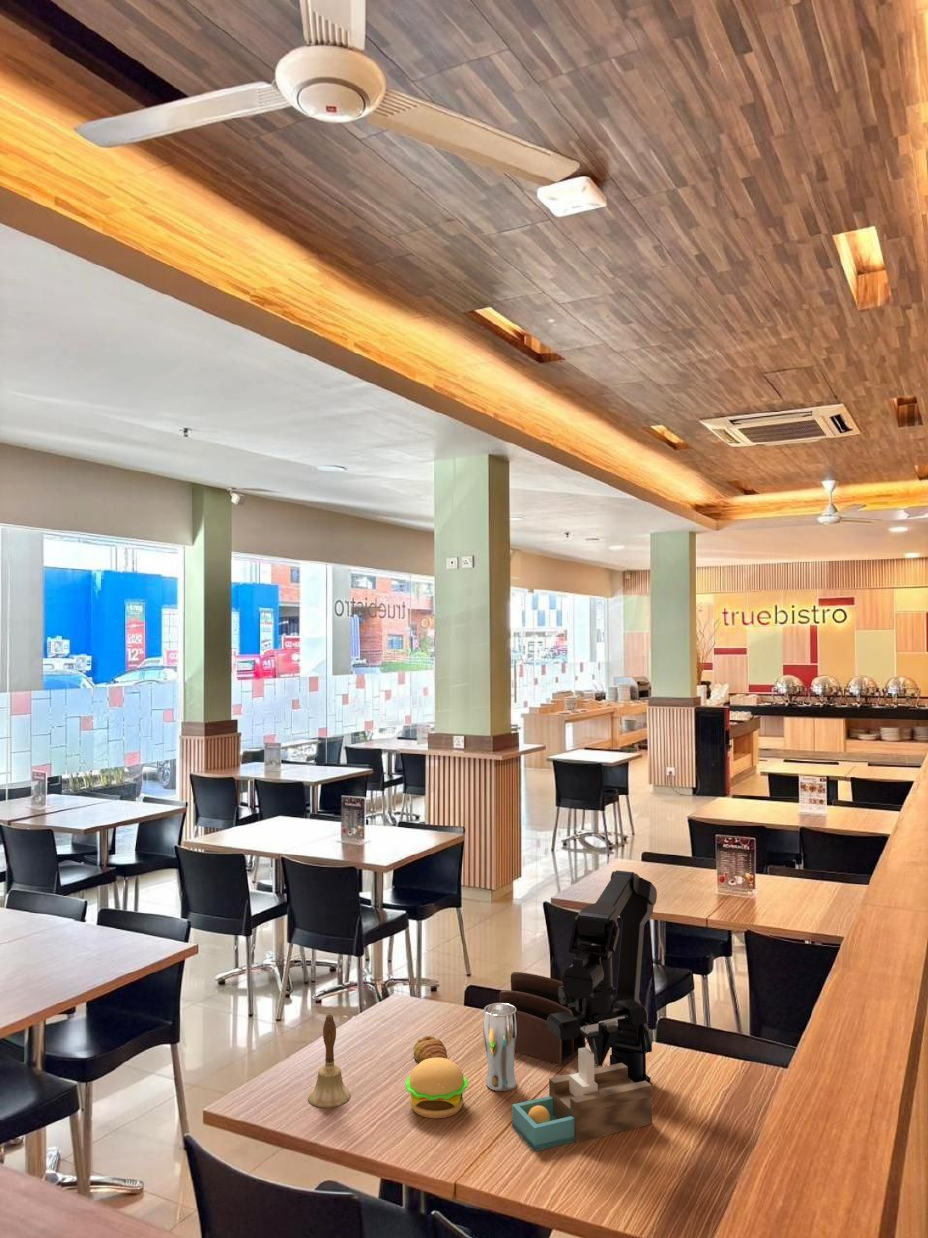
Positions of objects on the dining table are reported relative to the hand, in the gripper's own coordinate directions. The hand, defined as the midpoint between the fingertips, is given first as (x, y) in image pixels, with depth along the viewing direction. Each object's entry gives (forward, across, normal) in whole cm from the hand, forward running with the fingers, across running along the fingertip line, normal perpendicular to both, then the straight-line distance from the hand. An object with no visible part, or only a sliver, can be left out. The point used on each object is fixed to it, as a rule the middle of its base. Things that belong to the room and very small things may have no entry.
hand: (598, 1065), depth 169 cm
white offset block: (+5, +3, 0) cm, 6 cm away
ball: (+7, +13, 0) cm, 14 cm away
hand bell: (+10, +44, -29) cm, 54 cm away
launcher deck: (+10, 0, 0) cm, 10 cm away
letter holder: (+10, -4, -33) cm, 35 cm away
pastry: (+10, +19, -37) cm, 43 cm away
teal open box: (+10, +12, 0) cm, 15 cm away
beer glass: (+10, +11, -20) cm, 25 cm away
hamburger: (+10, +26, -17) cm, 33 cm away
